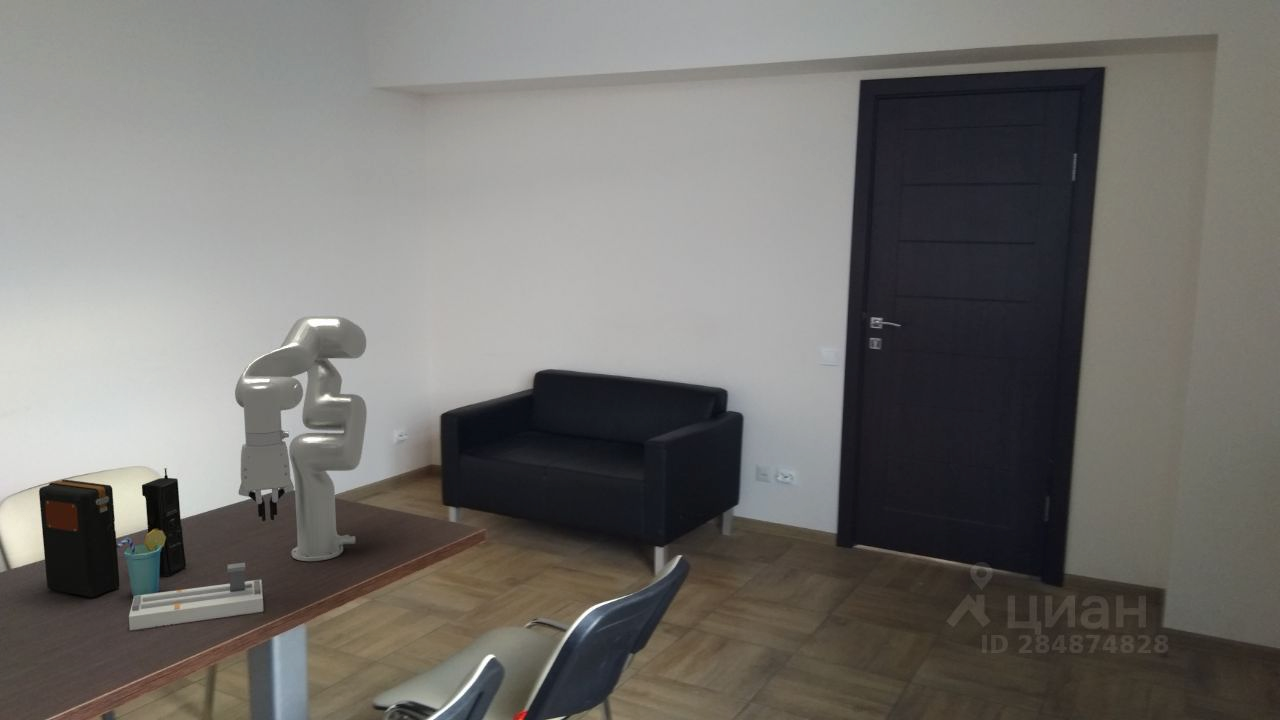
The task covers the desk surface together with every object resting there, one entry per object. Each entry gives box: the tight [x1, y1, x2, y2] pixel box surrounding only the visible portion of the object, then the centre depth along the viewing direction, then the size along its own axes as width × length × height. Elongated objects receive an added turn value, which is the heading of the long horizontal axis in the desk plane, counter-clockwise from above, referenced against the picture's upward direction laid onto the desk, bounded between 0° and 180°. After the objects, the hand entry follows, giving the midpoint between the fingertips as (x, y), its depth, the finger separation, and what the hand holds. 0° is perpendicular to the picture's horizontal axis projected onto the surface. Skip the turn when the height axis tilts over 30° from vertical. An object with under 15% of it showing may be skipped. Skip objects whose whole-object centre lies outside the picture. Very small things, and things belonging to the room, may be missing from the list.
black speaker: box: [38, 479, 121, 598], centre depth 218 cm, size 16×9×25 cm, turn 71°
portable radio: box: [141, 468, 187, 577], centre depth 229 cm, size 8×6×25 cm
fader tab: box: [227, 562, 246, 592], centre depth 211 cm, size 4×3×6 cm
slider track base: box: [128, 579, 264, 631], centre depth 209 cm, size 26×12×4 cm, turn 113°
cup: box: [116, 529, 166, 598], centre depth 216 cm, size 14×8×15 cm, turn 171°
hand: (268, 518), depth 212 cm, fingers closed
